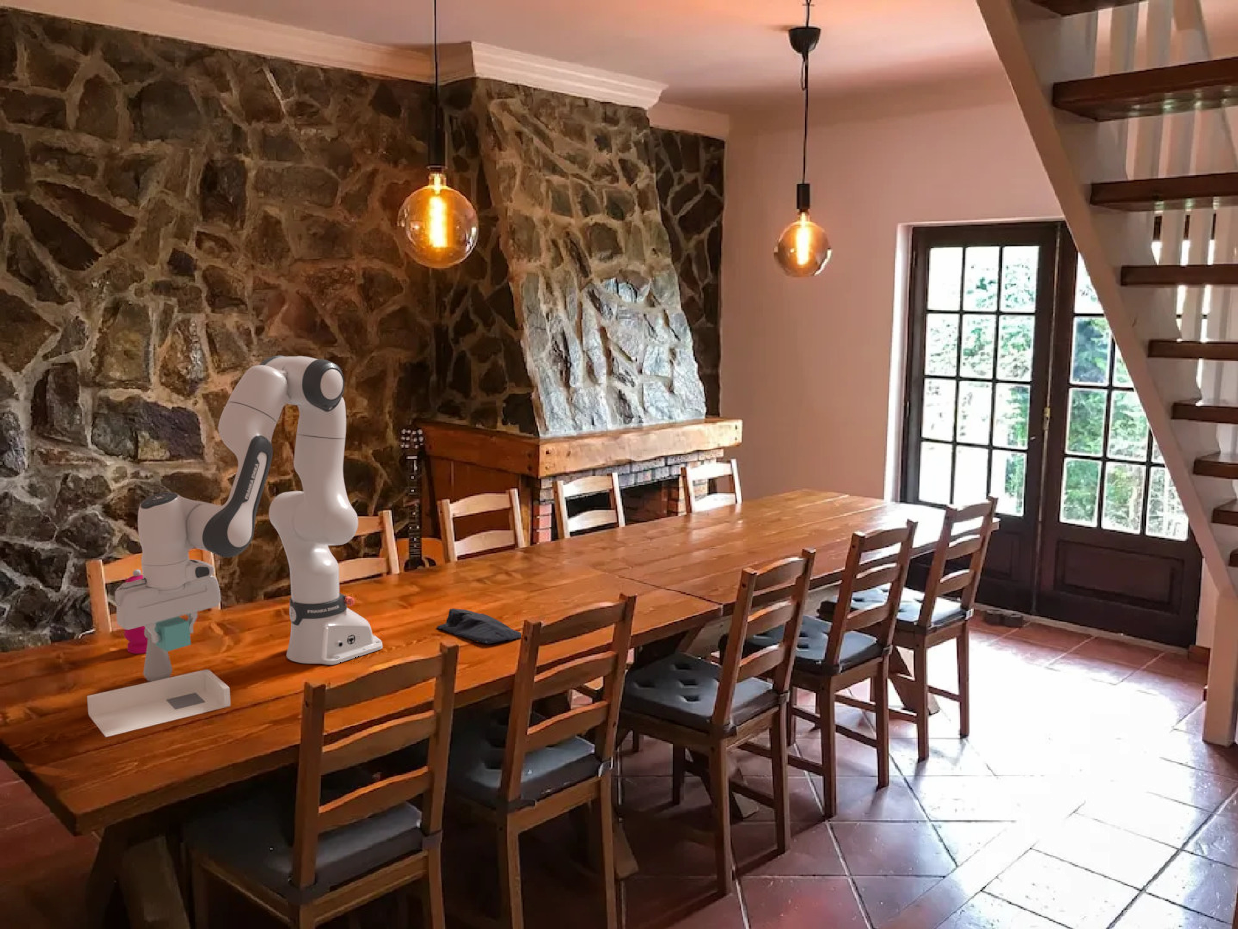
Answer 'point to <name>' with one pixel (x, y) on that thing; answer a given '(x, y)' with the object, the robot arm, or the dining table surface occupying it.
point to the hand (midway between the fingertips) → (172, 637)
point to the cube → (173, 633)
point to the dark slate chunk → (477, 627)
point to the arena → (157, 702)
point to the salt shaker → (156, 661)
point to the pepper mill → (136, 634)
